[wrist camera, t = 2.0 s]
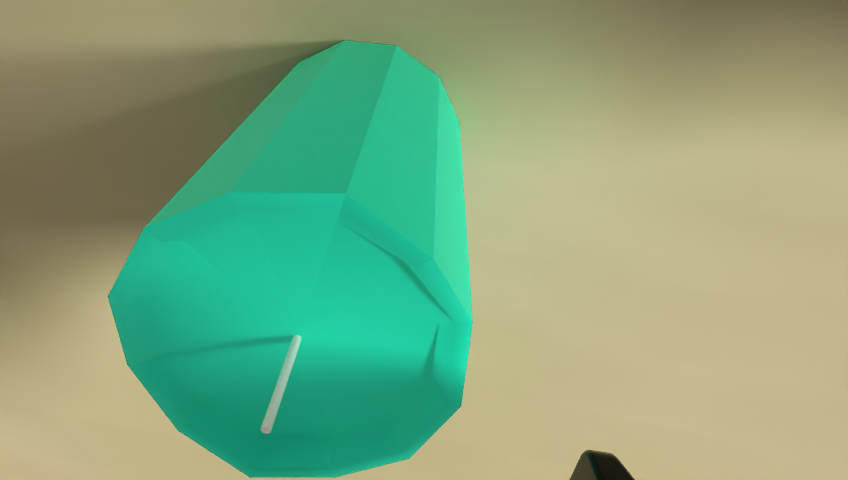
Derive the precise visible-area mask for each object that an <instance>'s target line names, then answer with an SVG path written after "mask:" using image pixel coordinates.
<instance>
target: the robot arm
mask: <svg viewBox="0 0 848 480" xmlns="http://www.w3.org/2000/svg"><path fill="white" fill-rule="evenodd" d="M570 480H635V479H634V478H633V477H632V476H631V474H630V473H629V472H628V471H627V469H626V468H625V467H624V466H623V465H622V463H621V462H620V461H619V460H618V458H617V457H615V456H614V455H613V454H611V453H606V452H600V451H593V450H586V451H585V452H584V453H583V454H582V455H581V457H580V459H579V461H578V463H577V465H576V467H575V469H574V471H573V474H572V476H571V478H570Z"/></svg>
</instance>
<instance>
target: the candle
mask: <svg viewBox="0 0 848 480" xmlns="http://www.w3.org/2000/svg"><path fill="white" fill-rule="evenodd" d="M108 299H109V302H110V306H111V309H112V313H113V316H114V320H115V323H116V327H117V330H118V334H119V337H120V341H121V344H122V348H123V351H124V354H125V358H126V361H127V365H128V366H129V368H130V369H131V370H132V371H133V373H134V374H135V375H136V377H137V378H138V379H139V381H140V382H141V383H142V384H143V386H144V387H145V388H146V390H147V391H148V392H149V394H150V395H151V396H152V397H153V399H154V400H155V401H156V403H157V404H158V405H159V406H160V408H161V409H162V410H163V412H164V413H165V414H166V416H167V417H168V418H169V419H170V421H171V422H172V423H173V425H174V426H175V427H176V429H177V430H178V431H179V432H181V433H183V434H184V435H186V436H187V437H189V438H190V439H192V440H193V441H195V442H196V443H198V444H199V445H201V446H203V447H204V448H206V449H207V450H209V451H210V452H212V453H213V454H215V455H216V456H218V457H219V458H221V459H223V460H224V461H226V462H227V463H229V464H230V465H232V466H233V467H235V468H236V469H238V470H239V471H241V472H242V473H244V474H246V475H247V476H249V477H338V476H342V475H346V474H350V473H354V472H358V471H362V470H366V469H370V468H374V467H378V466H382V465H386V464H390V463H394V462H398V461H402V460H406V459H409V458H410V457H411V456H412V455H413V454H414V453H415V452H416V451H417V450H418V449H419V448H420V447H421V446H422V445H423V444H424V443H425V442H426V441H427V440H428V439H429V438H430V437H431V436H432V435H433V434H434V433H435V432H436V431H437V430H438V429H439V428H440V427H441V426H442V425H443V424H444V423H445V422H446V421H447V420H448V419H449V418H450V417H451V416H452V415H453V414H454V413H455V412H456V411H457V410H458V409H459V408H460V407H461V403H462V396H463V389H464V381H465V374H466V367H467V360H468V353H469V345H470V338H471V331H472V324H473V318H472V304H471V289H470V274H469V259H468V244H467V229H466V214H465V200H464V185H463V170H462V155H461V140H460V125H459V121H458V118H457V116H456V114H455V111H454V109H453V107H452V105H451V102H450V100H449V98H448V95H447V93H446V91H445V89H444V86H443V84H442V82H441V79H440V77H439V76H437V75H436V74H435V73H433V72H432V71H431V70H429V69H428V68H427V67H425V66H424V65H422V64H421V63H420V62H418V61H417V60H416V59H414V58H413V57H412V56H410V55H409V54H407V53H406V52H405V51H403V50H402V49H401V48H399V47H398V46H394V45H385V44H376V43H366V42H357V41H347V40H344V41H342V42H340V43H338V44H336V45H333V46H331V47H329V48H327V49H325V50H323V51H321V52H319V53H317V54H315V55H313V56H311V57H309V58H307V59H305V60H302V61H300V62H299V63H298V64H297V65H296V66H295V67H294V68H293V69H292V70H291V71H290V72H289V73H288V75H287V76H286V77H285V78H284V79H283V80H282V81H281V82H280V83H279V84H278V85H277V86H276V87H275V88H274V89H273V91H272V92H271V93H270V94H269V95H268V96H267V97H266V98H265V99H264V100H263V101H262V102H261V103H260V104H259V106H258V107H257V108H256V109H255V110H254V111H253V112H252V113H251V114H250V115H249V116H248V117H247V118H246V119H245V120H244V122H243V123H242V124H241V125H240V126H239V127H238V128H237V129H236V130H235V131H234V132H233V133H232V134H231V135H230V136H229V138H228V139H227V140H226V141H225V142H224V143H223V144H222V145H221V146H220V147H219V148H218V149H217V150H216V151H215V153H214V154H213V155H212V156H211V157H210V158H209V159H208V160H207V161H206V162H205V163H204V164H203V165H202V166H201V167H200V169H199V170H198V171H197V172H196V173H195V174H194V175H193V176H192V177H191V178H190V179H189V180H188V181H187V182H186V184H185V185H184V186H183V187H182V188H181V189H180V190H179V191H178V192H177V193H176V194H175V195H174V196H173V197H172V198H171V200H170V201H169V202H168V203H167V204H166V205H165V206H164V207H163V208H162V209H161V210H160V211H159V212H158V213H157V215H156V216H155V217H154V218H153V219H152V220H151V221H150V222H149V223H148V224H147V225H146V226H145V227H144V229H143V231H142V233H141V234H140V236H139V238H138V240H137V242H136V244H135V246H134V248H133V250H132V251H131V253H130V255H129V257H128V259H127V261H126V263H125V265H124V267H123V269H122V270H121V272H120V274H119V276H118V278H117V280H116V282H115V284H114V286H113V288H112V289H111V291H110V293H109V295H108Z"/></svg>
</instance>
